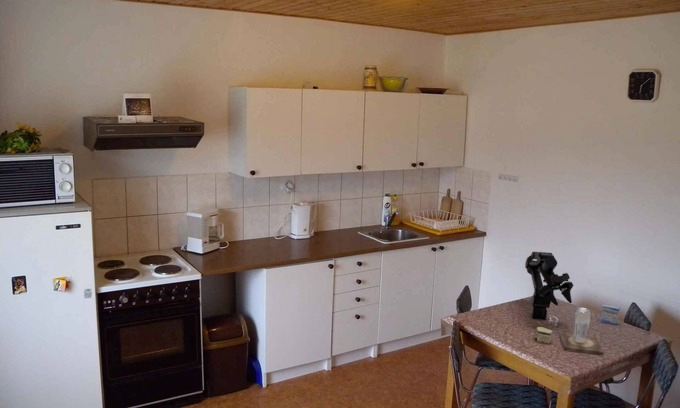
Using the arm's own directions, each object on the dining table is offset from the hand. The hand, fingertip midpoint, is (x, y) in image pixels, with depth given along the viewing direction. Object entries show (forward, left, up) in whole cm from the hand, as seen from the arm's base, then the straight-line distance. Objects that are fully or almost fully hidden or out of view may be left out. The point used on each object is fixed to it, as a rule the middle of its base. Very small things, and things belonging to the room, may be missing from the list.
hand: (564, 304), depth 274 cm
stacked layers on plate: (-10, -15, -14) cm, 23 cm away
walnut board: (+6, -16, -14) cm, 22 cm away
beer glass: (+5, -15, -12) cm, 20 cm away
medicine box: (+26, +20, -14) cm, 36 cm away
